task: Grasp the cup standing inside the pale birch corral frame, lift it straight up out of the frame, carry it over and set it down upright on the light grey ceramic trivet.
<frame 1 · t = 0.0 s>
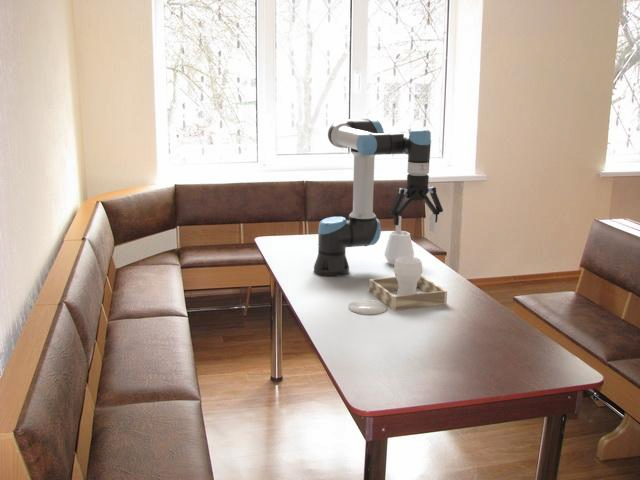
hand: (415, 232, 239), 28 cm above the table, fingers open, 13 cm apart
trivet: (367, 307, 244), on the table
cup: (406, 298, 255), resting in corral
corral: (406, 297, 255), on the table
cup 2: (398, 263, 301), on the table
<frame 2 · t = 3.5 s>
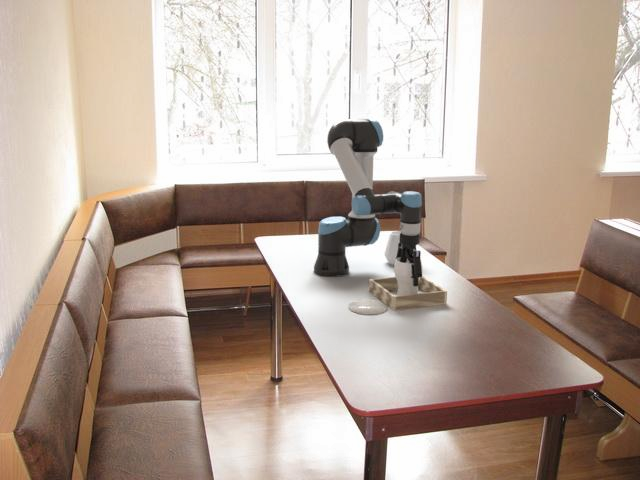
hand: (407, 289, 254), 3 cm above the table, fingers closed on cup, 11 cm apart
cup: (406, 298, 255), resting in corral, touching gripper
everything else where it was.
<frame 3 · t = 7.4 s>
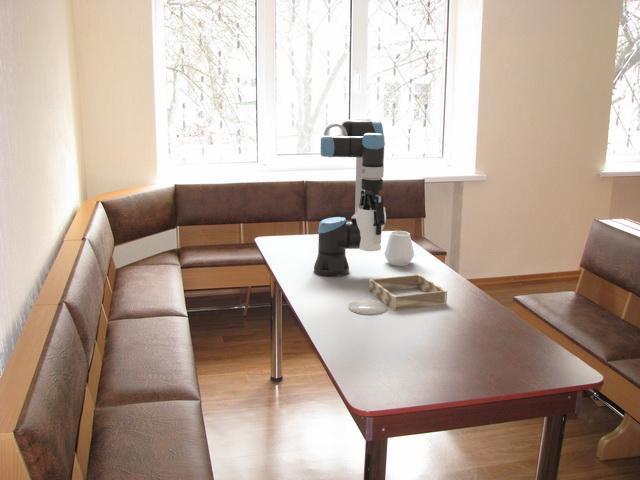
hand: (370, 239, 237), 26 cm above the table, fingers closed on cup, 11 cm apart
cup: (370, 249, 238), point 22 cm above the table, touching gripper
everything else where it was.
when the fingers open (5 cm above the table, at t = 11.6 s): cup drops 1 cm, resting on trivet.
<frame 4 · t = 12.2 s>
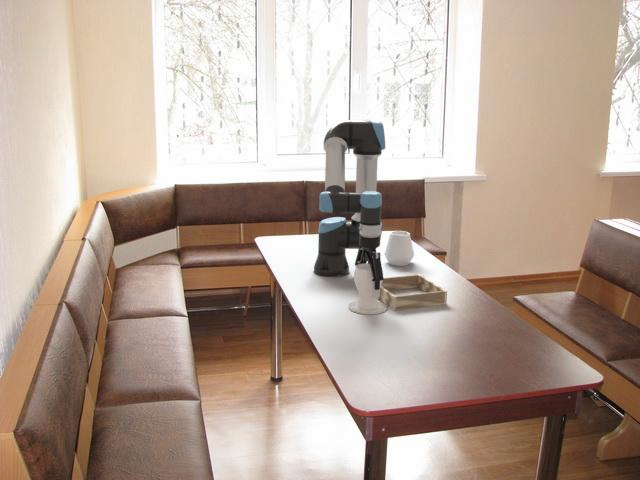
hand: (368, 291, 242), 6 cm above the table, fingers open, 13 cm apart
cup: (367, 306, 244), resting on trivet
everything else where it was.
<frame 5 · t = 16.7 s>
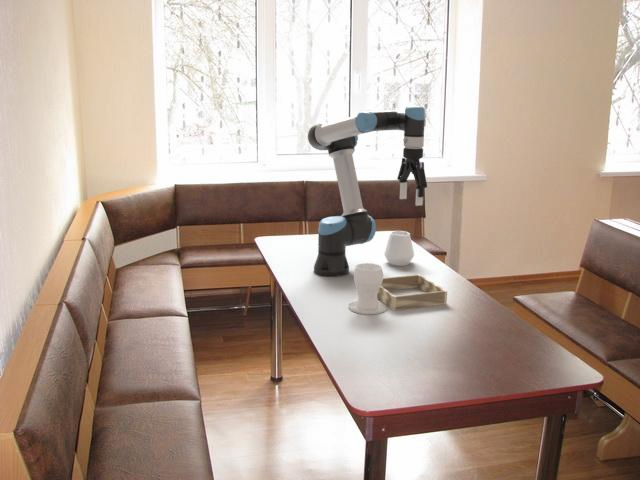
hand: (410, 202, 260), 35 cm above the table, fingers open, 13 cm apart
nothing on the table moved.
at the end: cup 0.2 cm from the trivet (horizontally); cup tilted 0°; cup touching trivet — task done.
